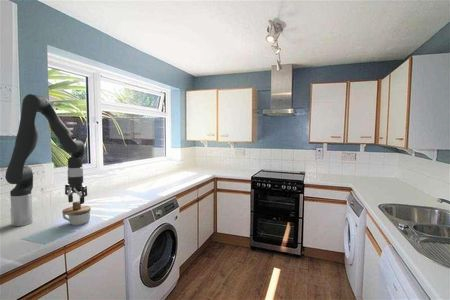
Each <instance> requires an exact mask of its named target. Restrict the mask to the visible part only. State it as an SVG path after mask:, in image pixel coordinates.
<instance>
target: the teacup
mask: <svg viewBox="0 0 450 300" xmlns="http://www.w3.org/2000/svg"><path fill="white" fill-rule="evenodd" d="M67 216H68V217H67ZM67 216H66V215H64V214H62V218H63V219H64V220H66V221H68V222H69V223H70V225H72V226H82V225H85V224H87V223H89V222H90V219H91V210H90V211H88V212H85V213H82V214H76V215H67Z"/></svg>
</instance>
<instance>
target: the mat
mask: <svg viewBox="0 0 450 300" xmlns="http://www.w3.org/2000/svg"><path fill="white" fill-rule="evenodd" d="M73 233H76V230H73V229H68V228H67V229H66V228H61V227H56V226H53V227H50V228H47V229H45V230H42V231H39V232H36V233H34V234H31V235H28V236H26V237H23V238H22V240H23V241H28V242H32V243H36V244H41V245H47V244H49V243H51V242H53V241H56V240H58V239H60V238H63V237H65V236H67V235H69V234H73Z"/></svg>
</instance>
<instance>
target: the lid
mask: <svg viewBox="0 0 450 300" xmlns="http://www.w3.org/2000/svg"><path fill="white" fill-rule="evenodd" d="M91 208H92V207H91V206H90V205H84V204H80V200H79V201H73V202H72V206H70V207H67V208H64V209H62V210H61V213H62V215H63V214H64V215H65V216H68V215H76V214H82V213H85V212H88V211H90V212H91Z"/></svg>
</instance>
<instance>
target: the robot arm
mask: <svg viewBox="0 0 450 300" xmlns="http://www.w3.org/2000/svg"><path fill="white" fill-rule="evenodd" d="M37 113H41V115H42V116H44V117H45V119H46V121H48V124H49V128H50V130H51V132H52V133H53V134H54V135H55V137H56V138H57V139H58V140H59V141H60V144H61V146H62V148H63V150H64V151H65V152H67V153H69V154H71V156H70V157H68V158H67V184H65V185H64V194H65V195H66V196H67V197H68V198H67V199H68V200H67V202H68V203H73V202H74V194H76V195H78V197H79V201H80V204H81V205H84V203H85V197H87V196H88V186H87V185H83V183H84V167H83V158H84V153H85V144H84V142H83V141H81V140H79V139H77V140H76V139H75V140H74V139H73V138H72V137H73V133H72V132H71V130H70V129H69V128H68V127H67V126H66V125H65V123H64V122H63V121H62V119H61V118H60V116H59V115H58V113H57V112H56V110H55V109H54V107H53V106H52V104H51V102H50V100H48V99H47V97H44V96H41V95H37V94H32V93H30V94H29V93H28V94H26V95H25V96H24V97H23V99H22V103H21V114H20V120H19V124H18V129H17V133H16V136H15V142H14V147H13V150H12V155H11V157H10V161H9V163H8V165H7V168H6V171H5V180H6V182H7V183H8V184H11V185H15V186H13V188H12V189H11V190H10V191H9V192H10V193H9V194H10V195H9V196H10V197H9V198H10V225H11V226H12V227H22V226H27V225H29V224H32V223H33V222H34V221H33V218H34V217H33V199H32V195H33V194H32V190H33V188H34V173H33V170H32V169H31V167H30V166H26V165H25V164H26V162H27V159H28V158H29V156H31V154H32V153H33V152H34V151H35V149H36V147H37V144H38V140H39V132H38V129H37V125H36V116H37Z"/></svg>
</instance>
